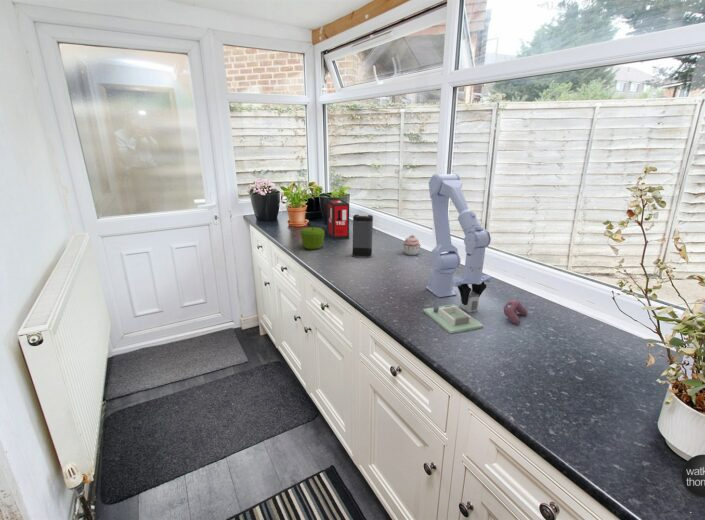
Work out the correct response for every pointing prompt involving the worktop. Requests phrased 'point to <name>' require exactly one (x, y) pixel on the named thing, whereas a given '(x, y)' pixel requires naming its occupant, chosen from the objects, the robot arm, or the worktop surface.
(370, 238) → the electronic device
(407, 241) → the cupcake
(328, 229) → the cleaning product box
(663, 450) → the worktop surface
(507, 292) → the worktop surface
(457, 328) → the board
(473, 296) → the plug
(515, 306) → the video game controller
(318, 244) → the apple
